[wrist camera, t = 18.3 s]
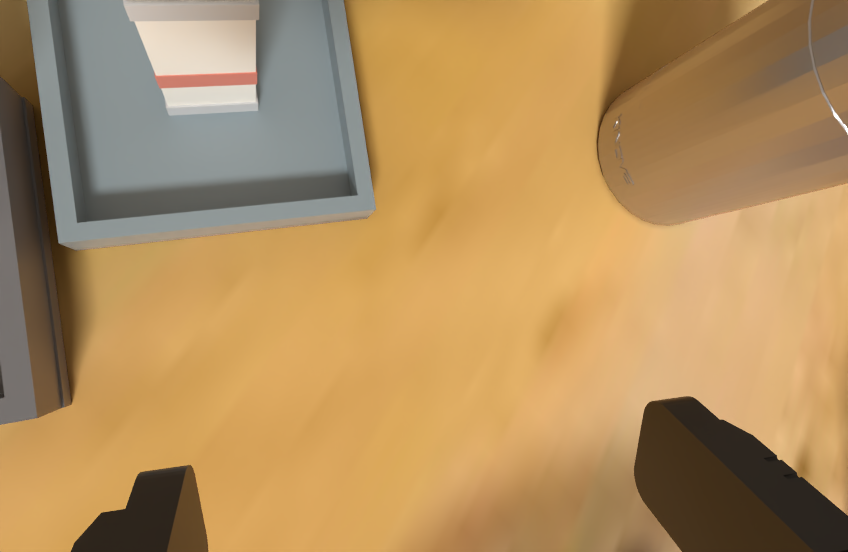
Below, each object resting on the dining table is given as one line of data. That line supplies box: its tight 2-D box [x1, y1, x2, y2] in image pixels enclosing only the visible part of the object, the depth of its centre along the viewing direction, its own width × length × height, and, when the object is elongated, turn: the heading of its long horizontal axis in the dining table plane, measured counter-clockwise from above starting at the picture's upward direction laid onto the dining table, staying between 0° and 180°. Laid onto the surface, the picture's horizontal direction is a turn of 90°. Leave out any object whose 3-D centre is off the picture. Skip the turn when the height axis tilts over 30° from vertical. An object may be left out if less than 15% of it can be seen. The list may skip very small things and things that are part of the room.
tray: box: [27, 0, 376, 251], centre depth 28 cm, size 14×16×2 cm
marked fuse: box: [123, 0, 259, 116], centre depth 24 cm, size 4×4×10 cm
